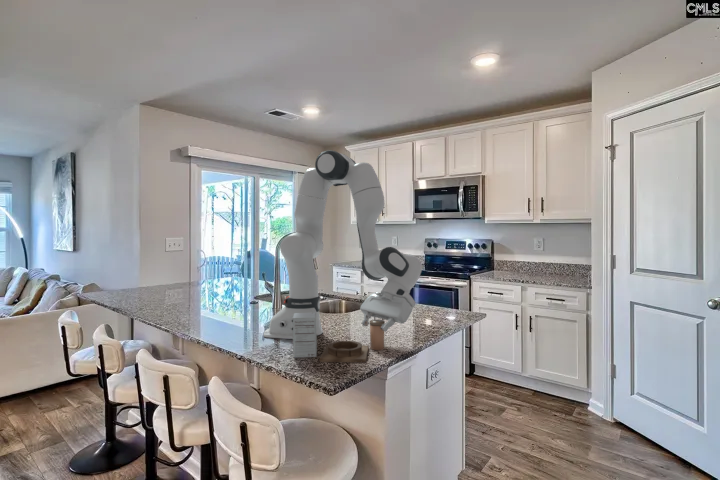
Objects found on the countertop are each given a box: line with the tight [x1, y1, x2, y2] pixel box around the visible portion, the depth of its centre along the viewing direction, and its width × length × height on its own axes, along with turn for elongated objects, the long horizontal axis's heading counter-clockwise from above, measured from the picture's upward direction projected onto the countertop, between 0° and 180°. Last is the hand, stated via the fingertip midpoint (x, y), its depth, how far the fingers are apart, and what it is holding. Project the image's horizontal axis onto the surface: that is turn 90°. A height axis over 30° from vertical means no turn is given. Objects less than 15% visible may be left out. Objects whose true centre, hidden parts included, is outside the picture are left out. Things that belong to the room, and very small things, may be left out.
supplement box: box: [292, 313, 318, 359], centre depth 125 cm, size 7×7×13 cm
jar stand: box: [318, 340, 370, 364], centre depth 124 cm, size 14×14×3 cm
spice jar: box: [369, 319, 386, 351], centre depth 131 cm, size 5×5×9 cm
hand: (373, 327), depth 130 cm, fingers open, 8 cm apart
